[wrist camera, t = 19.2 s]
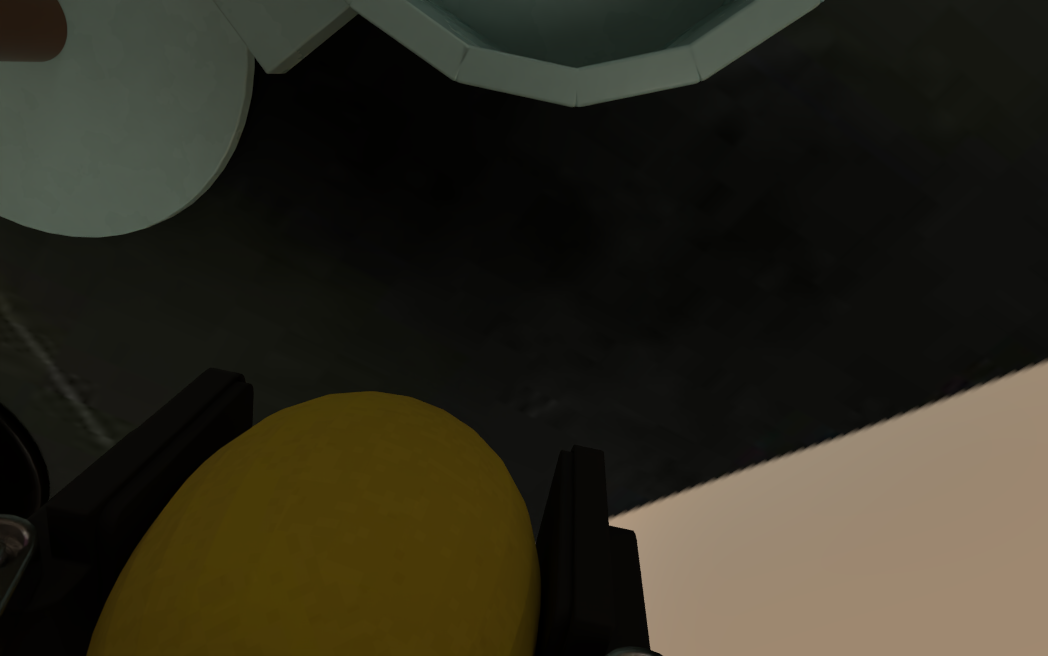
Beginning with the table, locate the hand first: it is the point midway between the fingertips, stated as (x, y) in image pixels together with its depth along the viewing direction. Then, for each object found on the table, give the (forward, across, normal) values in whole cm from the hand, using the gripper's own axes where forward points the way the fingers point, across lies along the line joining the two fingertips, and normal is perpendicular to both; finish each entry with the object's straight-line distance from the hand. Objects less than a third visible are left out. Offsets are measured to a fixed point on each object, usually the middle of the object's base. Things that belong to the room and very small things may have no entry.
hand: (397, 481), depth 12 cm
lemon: (+1, 0, 0) cm, 1 cm away
